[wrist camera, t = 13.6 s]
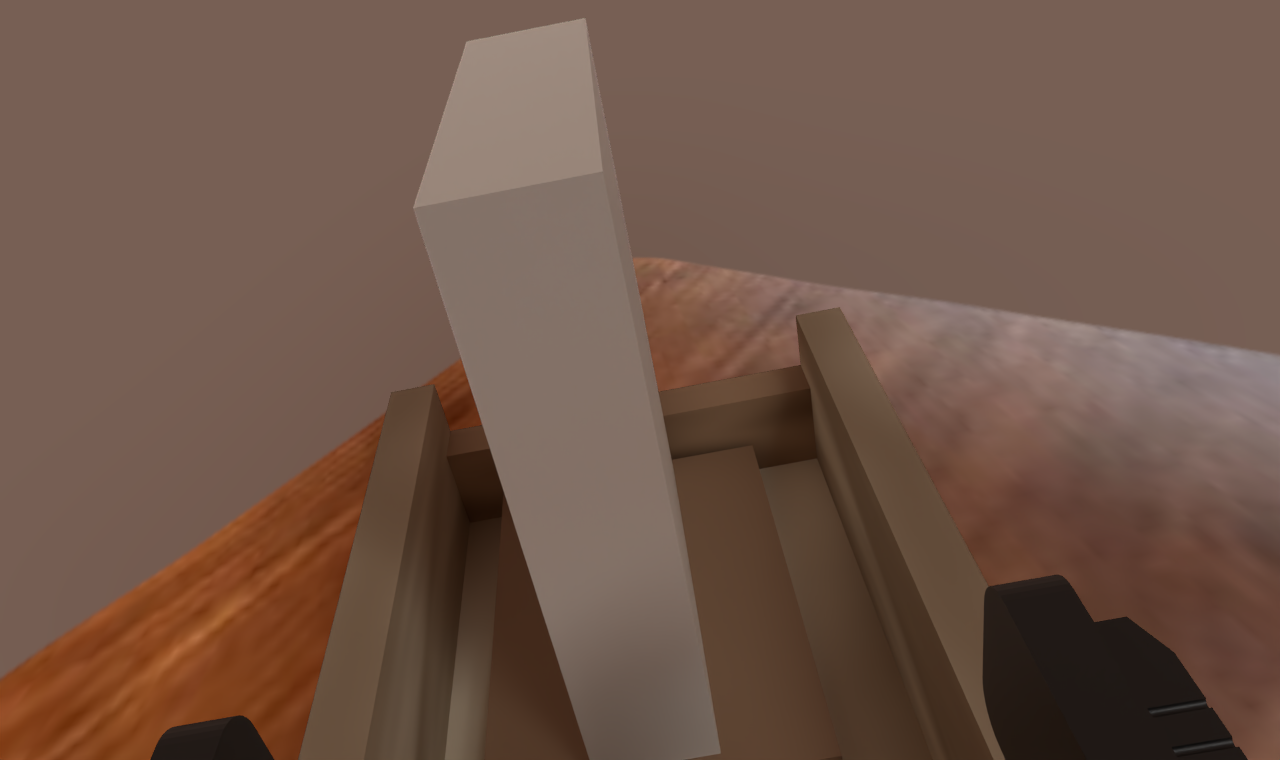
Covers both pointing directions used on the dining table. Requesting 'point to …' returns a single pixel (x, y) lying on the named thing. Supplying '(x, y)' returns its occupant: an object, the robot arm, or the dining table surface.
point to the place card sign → (598, 451)
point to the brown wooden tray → (695, 424)
